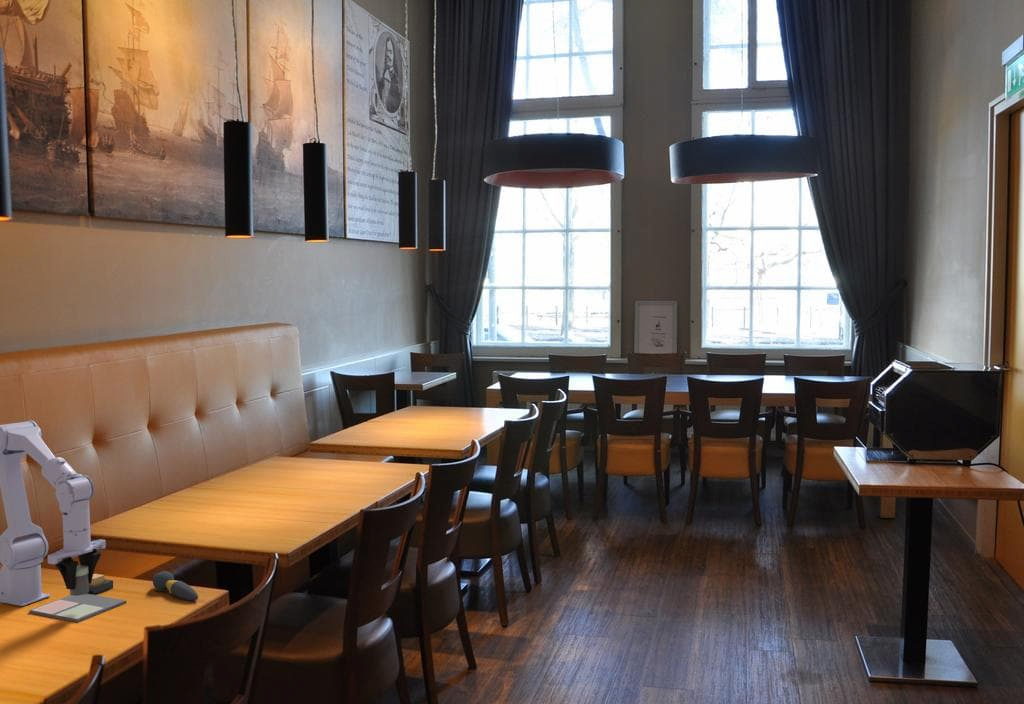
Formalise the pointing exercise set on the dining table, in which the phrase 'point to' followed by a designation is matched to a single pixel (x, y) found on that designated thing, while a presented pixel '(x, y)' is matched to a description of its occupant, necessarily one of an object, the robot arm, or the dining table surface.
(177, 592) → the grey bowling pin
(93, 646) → the dining table surface
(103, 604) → the picture board
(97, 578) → the button
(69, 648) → the dining table surface
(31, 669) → the dining table surface
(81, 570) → the green lidded grey jar
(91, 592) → the button housing
